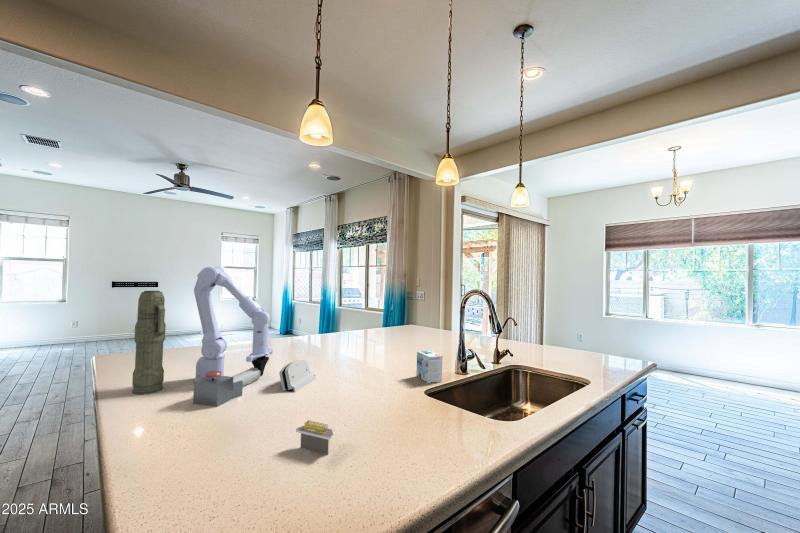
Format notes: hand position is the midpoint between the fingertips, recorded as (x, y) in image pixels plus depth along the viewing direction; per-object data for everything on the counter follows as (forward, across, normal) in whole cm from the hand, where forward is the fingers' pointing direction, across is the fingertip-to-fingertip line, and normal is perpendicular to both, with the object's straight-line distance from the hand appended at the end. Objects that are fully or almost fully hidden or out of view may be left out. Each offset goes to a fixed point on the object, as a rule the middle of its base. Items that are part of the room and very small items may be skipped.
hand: (259, 375), depth 138 cm
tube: (+2, -14, +1) cm, 14 cm away
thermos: (+2, -22, +29) cm, 36 cm away
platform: (+2, -44, -46) cm, 64 cm away
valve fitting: (+1, -23, 0) cm, 23 cm away
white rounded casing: (+2, -1, -17) cm, 17 cm away
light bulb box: (+2, +21, -65) cm, 68 cm away
